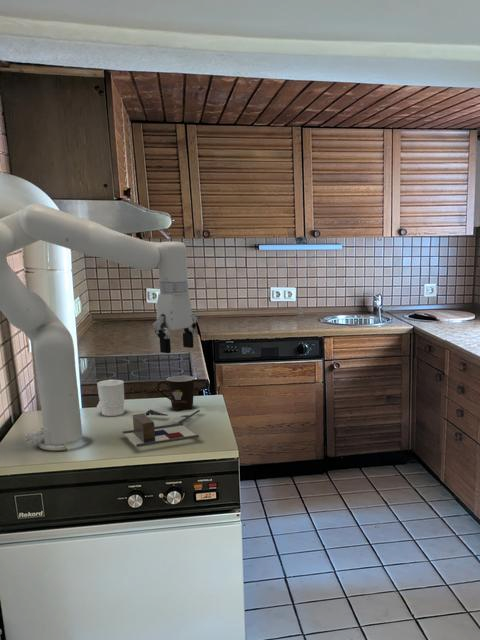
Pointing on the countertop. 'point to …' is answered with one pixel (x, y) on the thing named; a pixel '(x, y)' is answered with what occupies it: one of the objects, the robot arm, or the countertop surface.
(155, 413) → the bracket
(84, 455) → the countertop surface
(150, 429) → the eraser
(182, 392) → the coffee mug
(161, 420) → the countertop surface
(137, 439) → the memo board
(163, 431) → the smudge navy
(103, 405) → the white cup
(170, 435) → the smudge maroon
